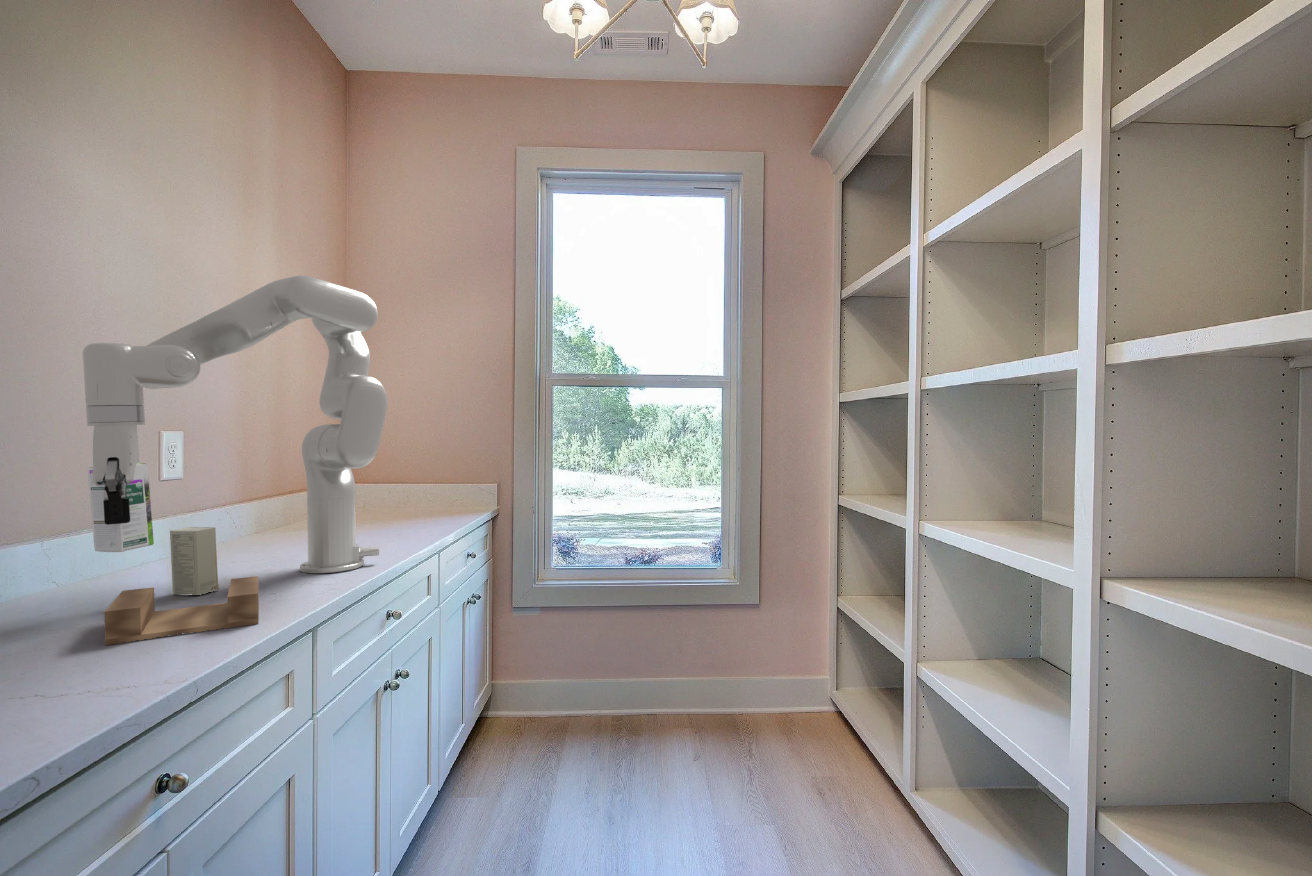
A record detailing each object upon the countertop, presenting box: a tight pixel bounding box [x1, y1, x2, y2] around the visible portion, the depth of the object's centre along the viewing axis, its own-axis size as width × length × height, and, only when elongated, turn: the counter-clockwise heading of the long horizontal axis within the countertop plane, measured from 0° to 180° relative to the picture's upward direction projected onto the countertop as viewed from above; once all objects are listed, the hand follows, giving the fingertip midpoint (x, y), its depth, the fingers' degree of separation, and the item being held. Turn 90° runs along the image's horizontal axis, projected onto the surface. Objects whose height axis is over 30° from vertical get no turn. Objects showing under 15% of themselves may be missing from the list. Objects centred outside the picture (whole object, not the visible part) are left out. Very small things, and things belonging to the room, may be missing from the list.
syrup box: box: [87, 462, 155, 553], centre depth 109 cm, size 6×6×14 cm
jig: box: [103, 575, 260, 646], centre depth 101 cm, size 18×14×5 cm
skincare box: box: [169, 526, 219, 596], centre depth 119 cm, size 6×4×12 cm
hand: (122, 519), depth 109 cm, fingers closed on syrup box, 7 cm apart
